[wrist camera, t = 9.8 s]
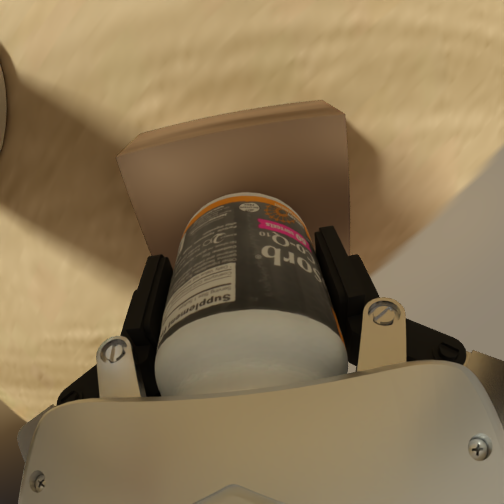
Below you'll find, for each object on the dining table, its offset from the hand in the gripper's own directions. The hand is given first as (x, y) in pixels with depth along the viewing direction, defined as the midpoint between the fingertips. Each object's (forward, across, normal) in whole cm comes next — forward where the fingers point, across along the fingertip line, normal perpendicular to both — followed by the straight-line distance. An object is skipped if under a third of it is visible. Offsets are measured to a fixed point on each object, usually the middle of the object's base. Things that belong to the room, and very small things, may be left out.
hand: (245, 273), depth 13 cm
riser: (+7, 0, 0) cm, 7 cm away
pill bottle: (+2, 0, 0) cm, 2 cm away
